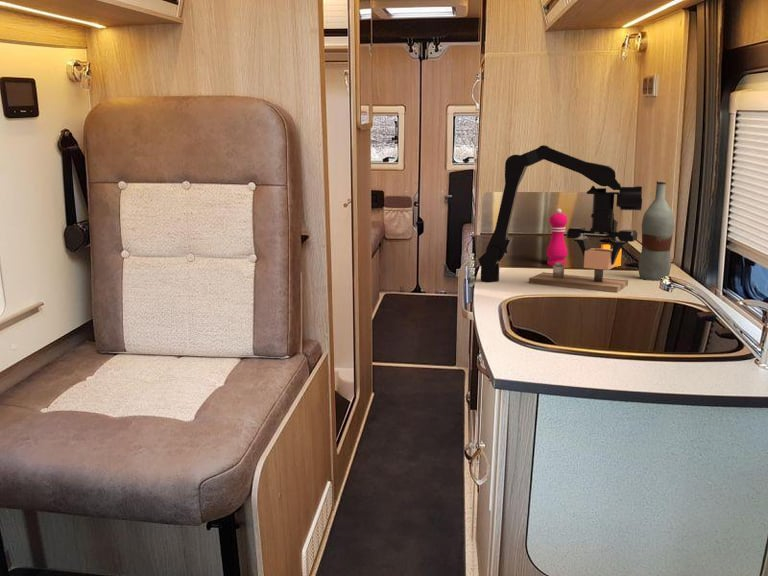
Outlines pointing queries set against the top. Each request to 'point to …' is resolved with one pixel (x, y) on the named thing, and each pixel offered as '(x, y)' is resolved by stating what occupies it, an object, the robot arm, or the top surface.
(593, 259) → the collar
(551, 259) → the pepper mill
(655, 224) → the bottle
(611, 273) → the top surface
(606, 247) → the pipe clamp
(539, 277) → the collar board
